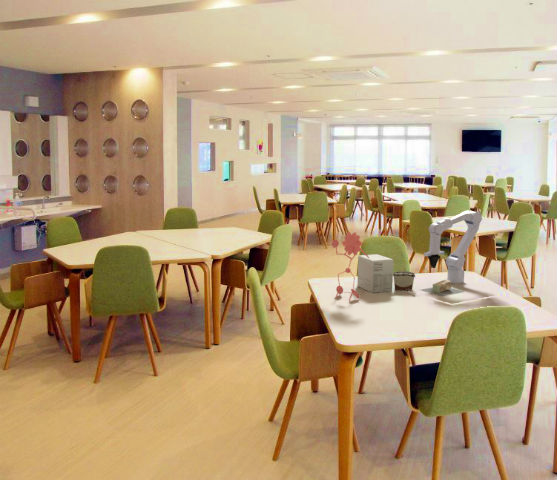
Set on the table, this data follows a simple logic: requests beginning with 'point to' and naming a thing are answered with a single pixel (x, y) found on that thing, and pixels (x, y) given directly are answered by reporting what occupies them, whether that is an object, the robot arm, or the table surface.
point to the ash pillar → (441, 286)
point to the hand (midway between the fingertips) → (433, 267)
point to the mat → (443, 293)
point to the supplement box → (375, 273)
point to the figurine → (351, 246)
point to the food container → (403, 280)
